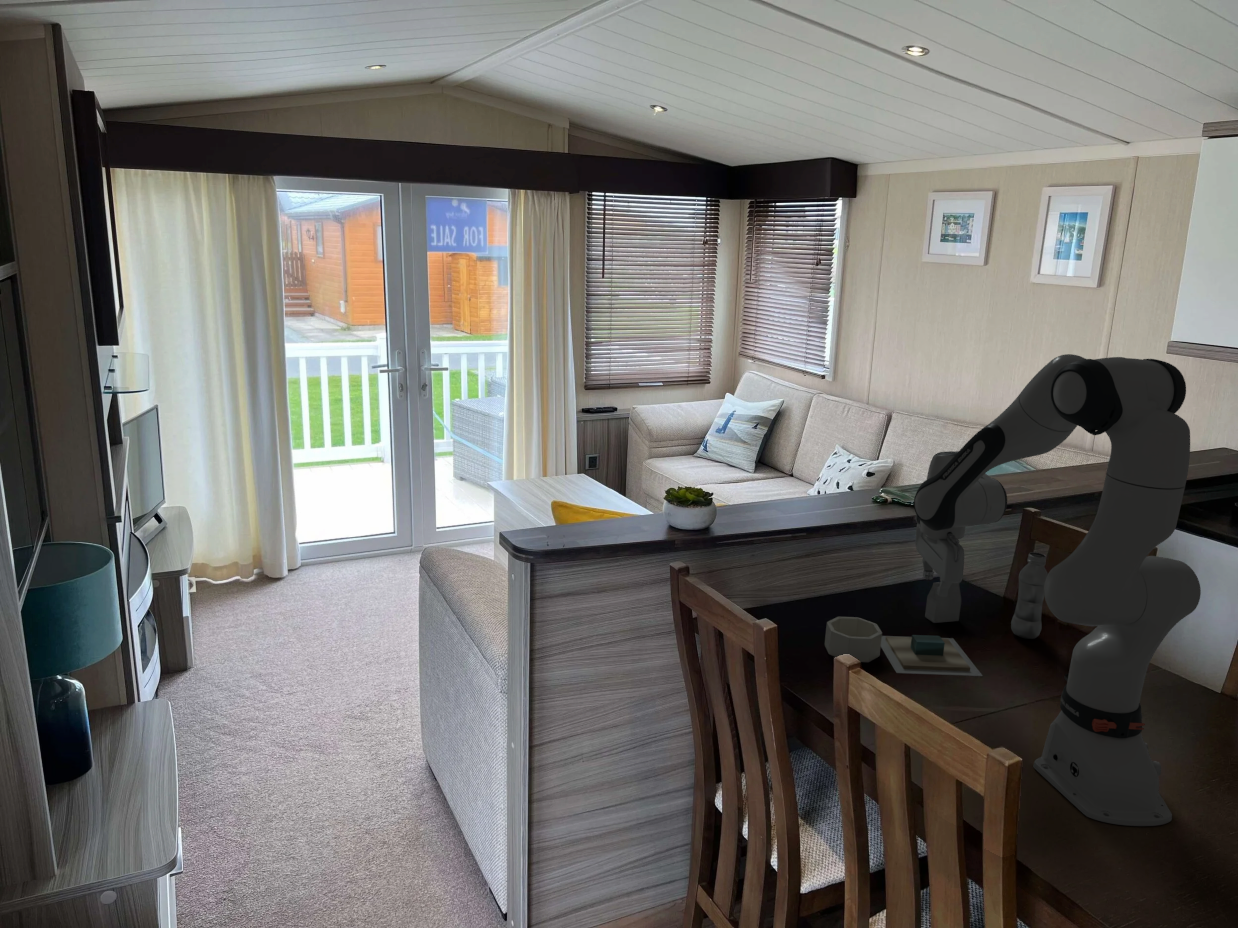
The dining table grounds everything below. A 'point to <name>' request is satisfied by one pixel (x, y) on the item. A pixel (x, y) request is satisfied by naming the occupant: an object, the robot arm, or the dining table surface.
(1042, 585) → the plastic bottle
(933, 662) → the board
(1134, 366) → the robot arm
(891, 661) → the mat
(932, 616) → the dark grey block
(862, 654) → the bowl
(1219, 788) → the dining table surface
